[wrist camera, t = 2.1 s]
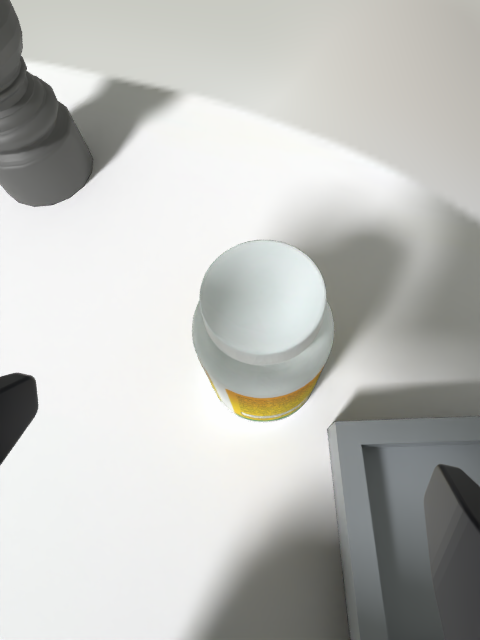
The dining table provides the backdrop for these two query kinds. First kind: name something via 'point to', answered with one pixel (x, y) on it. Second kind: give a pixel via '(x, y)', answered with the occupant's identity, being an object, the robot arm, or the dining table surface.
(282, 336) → the supplement bottle
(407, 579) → the tray
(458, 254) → the dining table surface
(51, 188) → the candle holder
